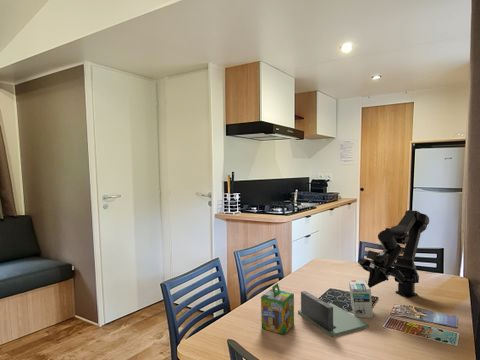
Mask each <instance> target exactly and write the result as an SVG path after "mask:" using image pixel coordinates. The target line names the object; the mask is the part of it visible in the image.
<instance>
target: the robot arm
mask: <svg viewBox="0 0 480 360" xmlns="http://www.w3.org/2000/svg"><path fill="white" fill-rule="evenodd" d="M429 224H430V218H429V216H428V215H427V214H425V213H421V212H420V211H418V210H410V209H408V210H405V213H404V215H403V216H402V218H401V219H400V221H399V222H398V224H396V225H394V226H391V227H390V228H388V227H385V229H384V230H381V231H380V232H379V233H378V234H377V239H378V240H379V243H380V244H381V247H382V248H383V250H382V251H379V252H376V251H374V250H370V249H368V251H367V255H366V257H360V258H359V259H358V261H357V263H358V264H359V266H360V267H361V268H362V269H363V270H364V271H366V272H368V273H369V276H368V281H367V284H368V286H369V287H370V289H371V288H373V287H375V286H376V285H378V284H380V283H383V282H386V281H389V277H393V278H394V281H395V282H396V283H398V284H397V290H395V291H394V292H395V293H396V294H399V295H401V296H403V297H405V298H412V297H415V296H418V295H419V294H418V292H415V288H416V287H415V286H416V285H415V284H418V283H420V282H419V280H420V275H419V273H418V271H417V267H416V264H415V258H416V254H417V250H418V246H419V243H420V242H419V241H420V239H421V235H422V233H423V232H425V231H426V230H427V228H428V225H429ZM401 245H405V246H404V250H403V246H401ZM400 255H402V256H401V257H399V256H400ZM370 260H371V261H370Z"/></svg>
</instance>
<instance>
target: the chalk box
mask: <svg viewBox="0 0 480 360" xmlns="http://www.w3.org/2000/svg"><path fill="white" fill-rule="evenodd" d="M276 289H277V290H276ZM294 296H295V294H294V293H291V292H288V291H285V290H280V286H279V283H278V282H277V283H275V284H274V285H273V286H272V289H269V290H268V291H267V292H266V293H264V294H263V295H261V296H260V307H261V308H260V311H261V312H260V313H261V319H260V320H261V330H265V331H269V332H272V333H273V332H274V333H277V334H280V335H284V336H285V335H286V334H287V333H288V332H289V331H290V329H292V327H293V326H294V325H295V299H294V298H295V297H294Z"/></svg>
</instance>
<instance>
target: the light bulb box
mask: <svg viewBox="0 0 480 360" xmlns="http://www.w3.org/2000/svg"><path fill="white" fill-rule="evenodd" d="M348 283H349V295H350V305H351V308H352V309H351V310H352V312H353V313H352V314H353V316H355V317H357V318H373V317H374V312H373V302H372V301H373V299H372V290H371V288H370V287H369V286H368V281H367V280H366V279H348Z"/></svg>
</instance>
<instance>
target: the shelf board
mask: <svg viewBox="0 0 480 360" xmlns="http://www.w3.org/2000/svg"><path fill="white" fill-rule="evenodd" d="M328 304H329V305H331V306H332V307H333V325H334V326H336V328H333V330H332V331H329V332H328V331H327V330H326V329H324V328H323V327H321V326H320V325H318V324H317V323H315V322H314V321H313V320H311V319H310V318H308V317H307V316H305V315H304V314H303V313H301V309H299V310H297V313H298V315H301V316H302V317H303V318H304V319H306V320H308V321H309V322H310V323H311V324H313V325H314V326H316V327H317V328H318V329H320V330H321V331H323V332H324V333H326V334H327V335H328V336H330V337H331V338H335V337H339V336H342V335H345V334H349V333H352V332H357V331H359V330H364V329H366V328H369V327H370V324H369V323H367V322H365V321H364V320H362V319H361V318H360V317H355V316H354V314H353V313H352V314H351V313H350V312H348V311H346V310H345V309H342V308H341V307H339V306H337V305H335V304H333V303H332V302H329V303H328Z"/></svg>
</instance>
